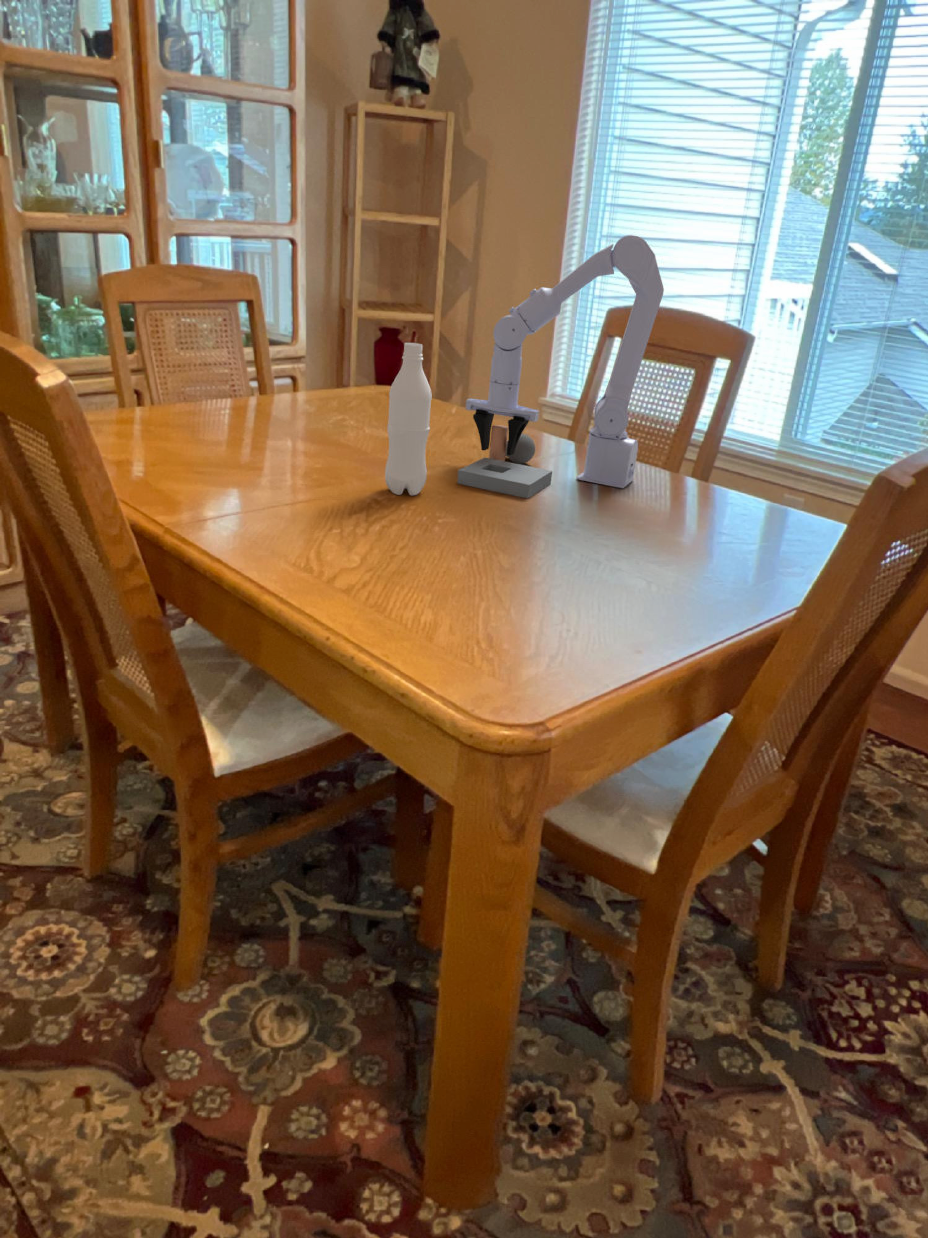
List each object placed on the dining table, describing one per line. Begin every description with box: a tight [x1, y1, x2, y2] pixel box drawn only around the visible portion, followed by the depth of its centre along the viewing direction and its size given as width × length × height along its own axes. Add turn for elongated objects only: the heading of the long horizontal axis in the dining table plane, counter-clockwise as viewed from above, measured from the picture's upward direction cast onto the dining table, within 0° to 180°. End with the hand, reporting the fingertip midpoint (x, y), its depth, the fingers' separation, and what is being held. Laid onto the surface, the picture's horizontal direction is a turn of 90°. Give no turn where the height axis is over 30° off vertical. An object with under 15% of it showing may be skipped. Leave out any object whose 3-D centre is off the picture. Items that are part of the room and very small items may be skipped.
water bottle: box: [384, 342, 433, 497], centre depth 150 cm, size 7×7×25 cm
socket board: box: [456, 457, 553, 499], centre depth 165 cm, size 14×12×2 cm
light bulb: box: [505, 433, 536, 465], centre depth 181 cm, size 6×6×10 cm
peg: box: [488, 424, 509, 462], centre depth 175 cm, size 3×3×8 cm
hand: (497, 451), depth 175 cm, fingers open, 5 cm apart
